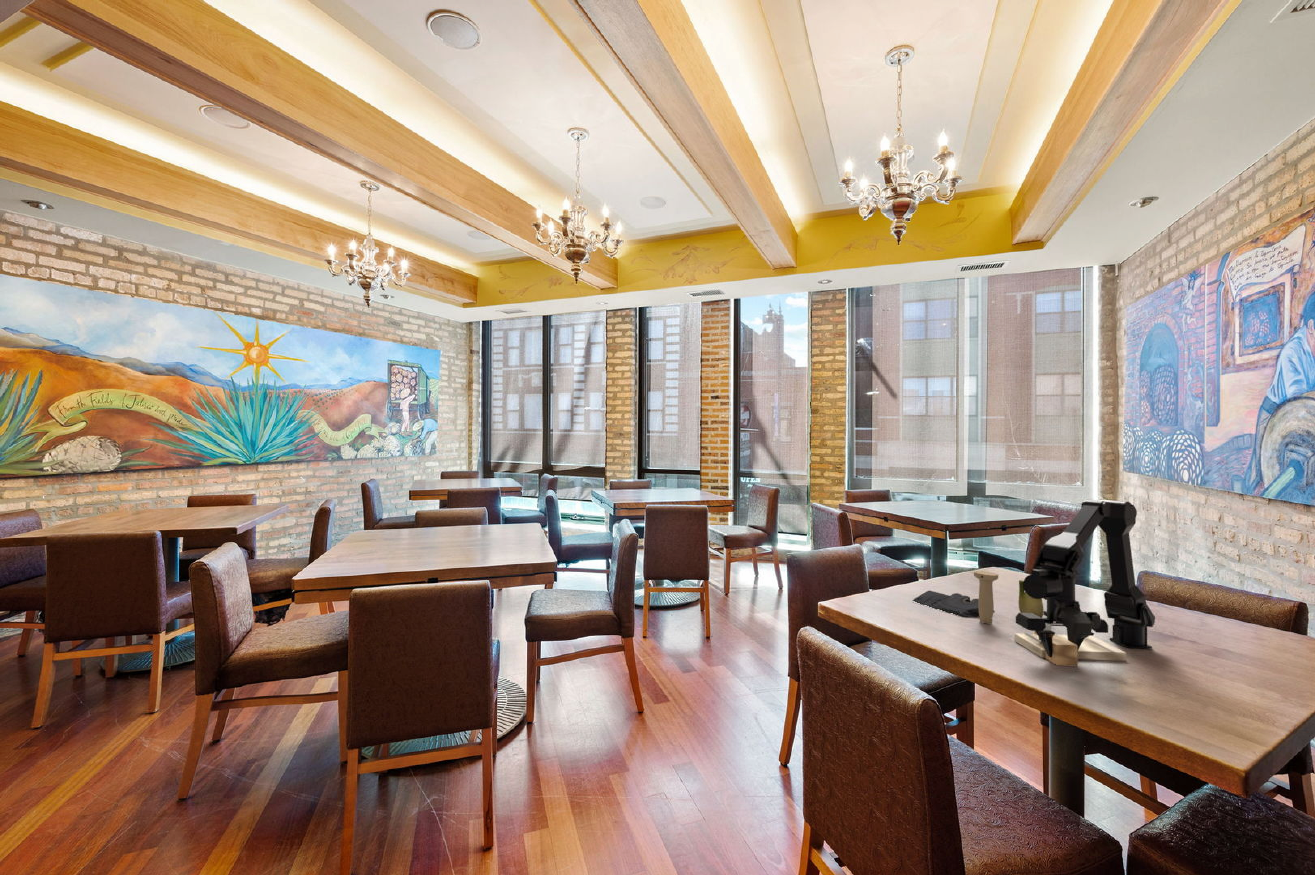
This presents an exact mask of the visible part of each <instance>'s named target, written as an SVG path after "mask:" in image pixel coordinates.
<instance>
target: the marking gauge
mask: <svg viewBox="0 0 1315 875" xmlns="http://www.w3.org/2000/svg"><path fill="white" fill-rule="evenodd" d="M1034 634H1036V635H1037V633H1036V632H1035V631H1034ZM1037 636H1038V635H1037ZM1039 640H1040V638H1039ZM1052 644H1053V653H1052V657H1049V656H1048V655H1047V653H1046V658H1045V660H1047V661H1049V662H1051V663H1052V664H1053V665H1055V664H1056V665H1055V666H1070V665H1073V667H1076V666H1077V667H1078V659H1077V645H1076V644H1074V643H1072V642H1070V641H1068V640H1067V639H1059V638H1057V637H1055V636H1053V637H1052ZM1074 665H1075V666H1074Z"/></svg>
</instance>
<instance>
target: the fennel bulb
mask: <svg viewBox="0 0 1315 875" xmlns="http://www.w3.org/2000/svg"><path fill="white" fill-rule="evenodd" d="M1023 581H1024V579H1020V580H1019V581H1018V588H1019V590H1018V609H1019V613H1033V614H1035V615H1037V616H1039V617H1041V618H1044V617H1043V616H1044V605H1043V604H1044V603H1043V598H1041V599H1035V598H1032V597H1030V596H1029V595H1028V594H1027V593H1026V592H1025V590H1024V588H1023Z"/></svg>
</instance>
